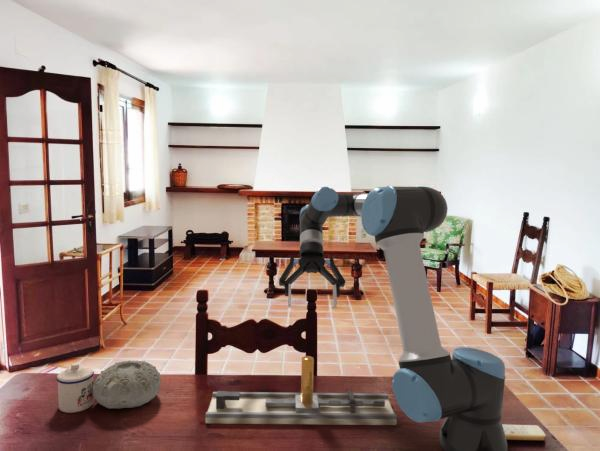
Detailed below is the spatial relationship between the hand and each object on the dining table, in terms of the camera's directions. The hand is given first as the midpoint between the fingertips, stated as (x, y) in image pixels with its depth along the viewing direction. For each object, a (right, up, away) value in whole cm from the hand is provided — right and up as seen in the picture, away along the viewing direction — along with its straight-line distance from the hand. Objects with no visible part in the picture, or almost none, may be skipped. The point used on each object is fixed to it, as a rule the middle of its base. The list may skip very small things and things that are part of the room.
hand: (312, 305), depth 139 cm
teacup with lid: (-64, -25, -10) cm, 70 cm away
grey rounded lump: (-51, -25, -9) cm, 58 cm away
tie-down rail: (-3, -26, -13) cm, 30 cm away
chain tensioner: (+3, -25, -13) cm, 28 cm away
